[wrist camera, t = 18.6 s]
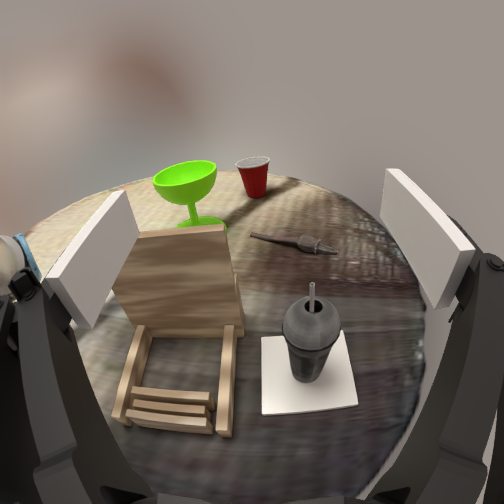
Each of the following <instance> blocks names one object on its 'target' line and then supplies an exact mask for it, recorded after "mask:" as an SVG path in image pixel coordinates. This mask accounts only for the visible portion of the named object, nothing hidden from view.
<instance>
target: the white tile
mask: <svg viewBox="0 0 504 504" xmlns="http://www.w3.org/2000/svg"><path fill="white" fill-rule="evenodd" d="M261 343H262V416H266V415H285V414H298V413H309V412H318V411H326V410H334V409H340V408H347V407H353V406H357V405H358V400H357V394H356V389H355V384H354V379H353V374H352V369H351V365H350V360H349V355H348V351H347V346H346V342H345V338H344V334H343V330H341V331H340V336H339V338H338V339H337V341H336V343H334V345H333V347H332V348H331V351H330V353H329V356H328V358H327V360H326V363H325V365H324V368H323V370H322V372H321V373H320V375H319V377H318V378H317V379H316V380H315V381H313V382H311V383H301V382H299V381H297V380H296V379H295V378H294V377H293V375H292V371H291V367H290V360H289V353H288V347H287V343H286V341H285V338H284V336H274V337H261Z"/></svg>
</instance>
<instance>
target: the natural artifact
mask: <svg viewBox="0 0 504 504" xmlns="http://www.w3.org/2000/svg"><path fill="white" fill-rule="evenodd" d="M250 236H251V237H255V238H259V239H263V240H266V241H268V240H269V241H279V242H287V243H293V244H296V245H297V246H298V248H300V249H301V250H302V251H304V252H313V253H314V254H316V252H319V253H322V254H336V253H338V251H336V250H335V249H333V248H331V247H328V246H326V245H323V244H321V243H319V241H320V239H315V238H313V237H311V236H308V235H302V236H301V237H275V236H267V235H262V234H257V233H253V232H252V233H251V234H250Z"/></svg>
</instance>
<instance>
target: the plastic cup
mask: <svg viewBox="0 0 504 504" xmlns="http://www.w3.org/2000/svg"><path fill="white" fill-rule="evenodd" d="M269 161H270V158H268V157H264V156H256V157H249V158H246V159H242V160H240V161H238V162H237V163H236V164H235V165H236V167H237V168H238V169H239V172H240V174H241V177H242V180H243V183H244V187H245V189H246V192H247V195H248V196H249V197H250V198H261V197H263V196H264V195H265V192H266V183H267V171H268V164H269Z"/></svg>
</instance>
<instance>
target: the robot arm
mask: <svg viewBox="0 0 504 504" xmlns="http://www.w3.org/2000/svg"><path fill="white" fill-rule="evenodd" d="M380 218H381V219H382V221H383V222H384V224H385V225H386V227H387V228H388V230H389V231H390V233H391V234H392V236H393V237H394V239H395V241H396V242H397V244H398V245H399V247H400V249H401V250H402V252H403V254H404V255H405V257H406V259H407V260H408V262H409V264H410V265H411V267H412V269H413V271H414V272H415V274H416V276H417V278H418V280H419V281H420V283H421V285H422V287H423V289H424V291H425V293H426V294H427V296H428V298H429V300H430V302H431V304H432V306H433V308H434V309H440V308H445V307H449V306H450V304H451V302H452V300H453V298H454V296H455V295H456V297H457V299H458V301H459V303H458V305H457V307H456V309H455V311H454V312H453V314H452V316H451V318H450V319H449V321H448V322H449V323H450V322H451V321H452V319H453V322H452V325H451V329H450V333H449V337H448V340H447V344H446V347H445V350H444V353H443V357H442V360H441V362H440V366H439V369H438V371H437V374H436V377H435V379H434V382H433V385H432V387H431V390H430V392H429V395H428V397H427V400H426V402H425V404H424V407H423V409H422V411H421V413H420V416H419V418H418V420H417V422H416V424H415V426H414V428H413V430H412V432H411V434H410V436H409V438H408V440H407V442H406V443H405V445H404V447H403V449H402V451H401V453H400V455H399V456H398V458H397V459H396V461H395V463H394V464H393V466H392V467H391V468H390V469H389V470H388V471H387V472H386V473H385V474H384V475H383V476H382V477H381V479H380V480H379V481H378V482H377V484H376V485H375V487H374V488H373V489H372V491H371V492H370V494H369V495H368V496H367V498H366V499H365V500H360V499H354V498H346V497H343V495H338V496H329V497H321V498H313V499H304V500H293V501H289V502H286V503H282V504H475V503H476V501H477V498H478V497H479V495H480V493H481V490H482V488H483V486H484V484H485V481H486V477H487V466H486V465H485V464H484V463H483V462H482V457H483V453H484V450H485V448H486V445H487V441H488V439H489V435H490V432H491V429H492V425H493V422H494V418H495V414H496V410H497V422H496V432H495V440H494V448H493V455H492V460H491V465H490V471H489V475H488V480H487V484H486V489H485V494H484V499H483V504H504V262H503V261H502V260H501V259H500V258H499V257H497V256H496V255H493V254H490V253H483V252H482V251H481V250H480V248H479V247H478V246H477V245H476V243H475V242H474V241H473V240H472V239H471V237H470V236H469V235H467V233H466V232H465V230H463V229H462V227H461V226H460V225H459V224H458V223H457V222H456V221H455V220H454V219H453V218H451V217H450V216H448V215H446V214H445V213H444V212H443V211H442V210H441V209H440V208H439V207H438V206H437V205H436V204H435V203H434V202H433V201H432V200H431V199H430V198H429V197H428V196H427V195H426V194H425V193H424V192H423V191H422V190H421V189H420V188H419V187H418V186H417V185H416V184H415V183H414V182H413V181H412V180H411V179H409V178H408V177H407V176H406V175H405V174H404V173H403V172H402V171H401V170H400V169H386V173H385V182H384V190H383V197H382V204H381V211H380ZM139 235H140V232H139V230H138V227H137V224H136V221H135V218H134V215H133V212H132V209H131V206H130V203H129V200H128V197H127V194H126V191H125V190H121V191H116V192H113V193H112V194H111V195H110V196H109V197H108V198H107V199H106V200H105V202H104V203H103V204H102V205H101V206H100V207H99V208H98V210H97V211H96V212H95V213H94V214H93V215H92V217H91V218H90V219H89V220H88V221H87V223H86V224H85V225H84V226H83V228H82V229H81V230H80V231H79V232H78V234H77V235H76V236H75V238H74V239H73V240H72V241H71V243H70V244H69V245H68V247H67V248H66V249H65V250H64V251H63V253H62V254H61V255H60V257H59V259H57V261H56V262H55V264H54V265H53V266H52V268H51V269H50V271H49V272H48V274H47V275H46V277H45V278H44V280H43V281H42V283H41V284H40V280H41V278H42V275H41V272H40V270H39V268H38V266H37V264H36V262H35V260H34V258H33V255H32V253H31V251H30V249H29V246H28V244H27V242H26V240H25V238H24V235H23V234H22V233H19V234H18V235H14V236H13V238H11V237H8V236H3V235H2V236H0V504H233V503H229V502H226V501H221V500H210V499H200V498H192V497H184V496H177V495H170V494H164V493H158V496H155V495H154V494H153V492H152V491H151V489H150V488H149V487H148V485H147V484H146V483H145V482H144V481H143V480H142V479H141V478H140V477H139V476H138V475H137V474H136V473H134V471H133V470H132V469H131V468H130V466H129V465H128V463H127V461H126V459H125V458H124V456H123V454H122V452H121V450H120V448H119V447H118V445H117V443H116V441H115V439H114V437H113V435H112V433H111V431H110V429H109V427H108V424H107V422H106V420H105V418H104V416H103V414H102V411H101V409H100V407H99V404H98V402H97V399H96V397H95V395H94V392H93V389H92V387H91V384H90V382H89V379H88V376H87V373H86V370H85V367H84V365H83V362H82V358H81V355H80V352H79V349H78V346H77V342H76V339H75V335H74V332H73V329H72V328H71V326H70V325H69V323H70V321H71V319H73V320H74V321H75V323H76V324H77V325H78V327H79V328H89V329H93V327H94V325H95V322H96V320H97V318H98V316H99V313H100V311H101V309H102V307H103V305H104V303H105V300H106V298H107V296H108V294H109V292H110V290H111V288H112V286H113V284H114V282H115V280H116V278H117V276H118V274H119V272H120V270H121V268H122V266H123V264H124V262H125V260H126V258H127V257H128V255H129V253H130V251H131V249H132V247H133V246H134V244H135V242H136V240H137V238H138V237H139ZM16 299H17V302H14V303H13V301H15V300H16Z"/></svg>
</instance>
